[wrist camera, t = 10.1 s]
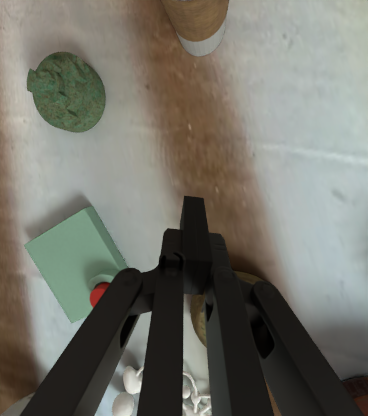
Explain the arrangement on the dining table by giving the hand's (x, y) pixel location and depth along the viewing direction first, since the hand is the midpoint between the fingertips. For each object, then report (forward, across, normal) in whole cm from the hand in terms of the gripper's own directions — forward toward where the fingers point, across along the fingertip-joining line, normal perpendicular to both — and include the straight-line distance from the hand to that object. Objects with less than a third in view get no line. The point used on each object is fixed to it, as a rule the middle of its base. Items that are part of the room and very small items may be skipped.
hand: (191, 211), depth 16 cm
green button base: (+11, -15, -21) cm, 28 cm away
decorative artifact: (+22, -18, +4) cm, 29 cm away
